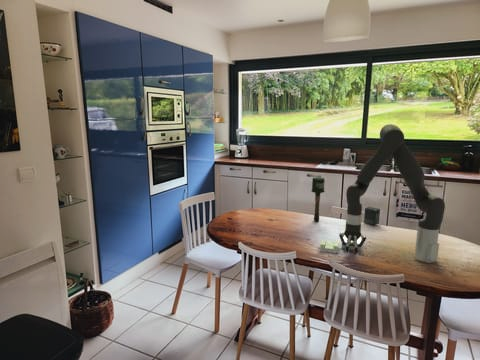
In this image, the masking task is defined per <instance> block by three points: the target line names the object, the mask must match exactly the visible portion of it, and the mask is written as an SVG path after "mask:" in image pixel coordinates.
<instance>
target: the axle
mask: <svg viewBox="0 0 480 360" xmlns="http://www.w3.org/2000/svg"><path fill="white" fill-rule="evenodd" d="M348 252H349V253H354V252H355V241H350V242H349V248H348Z"/></svg>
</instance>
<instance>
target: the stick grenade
mask: <svg viewBox="0 0 480 360" xmlns="http://www.w3.org/2000/svg"><path fill="white" fill-rule="evenodd" d="M310 191H311V193H315V194H314V196H315V198H314V200H315V201H314V203H315V204H314V214H313V216H314V217H313V222H317V223H318V222H320V202H321V201H320V200H321V194H323V193H325V178H324V177H319V176H315V177H312V180H311V190H310Z"/></svg>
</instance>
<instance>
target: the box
mask: <svg viewBox="0 0 480 360" xmlns="http://www.w3.org/2000/svg"><path fill="white" fill-rule="evenodd" d="M380 215H381V209H380V208H378V207H377V208H376V207H373V206H366V207H365V208H364V217H363V218H364V219H363V223H364V224H367V225H371V226H378V225H379V224H380Z"/></svg>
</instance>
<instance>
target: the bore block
mask: <svg viewBox="0 0 480 360" xmlns="http://www.w3.org/2000/svg"><path fill="white" fill-rule="evenodd" d="M343 238H344V241H345V242H347V238H346V236H345V235H344V237H343ZM361 240H362V239H361V237H360V238H359V239H358V240H357V242H358V244H359V243H360V242H361ZM341 249H342V250H346V246H345V245H343V244H342V243H341ZM357 252H362V247H358V251H357Z"/></svg>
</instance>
